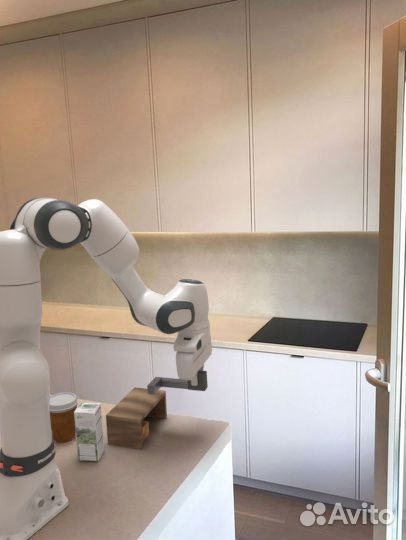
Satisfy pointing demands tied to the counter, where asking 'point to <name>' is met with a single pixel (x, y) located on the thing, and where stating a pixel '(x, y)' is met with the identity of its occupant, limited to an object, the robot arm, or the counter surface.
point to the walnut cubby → (134, 417)
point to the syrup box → (89, 431)
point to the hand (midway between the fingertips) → (197, 381)
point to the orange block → (145, 429)
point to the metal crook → (178, 383)
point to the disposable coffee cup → (63, 416)
